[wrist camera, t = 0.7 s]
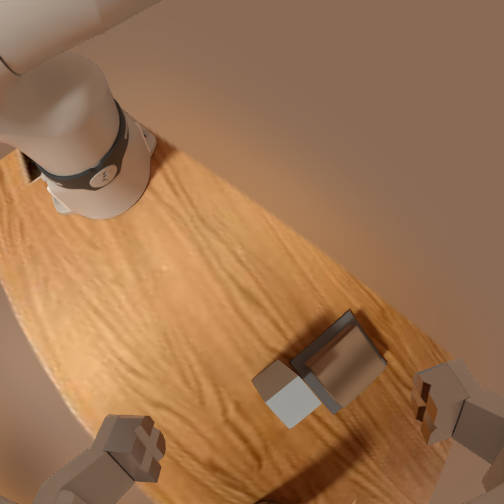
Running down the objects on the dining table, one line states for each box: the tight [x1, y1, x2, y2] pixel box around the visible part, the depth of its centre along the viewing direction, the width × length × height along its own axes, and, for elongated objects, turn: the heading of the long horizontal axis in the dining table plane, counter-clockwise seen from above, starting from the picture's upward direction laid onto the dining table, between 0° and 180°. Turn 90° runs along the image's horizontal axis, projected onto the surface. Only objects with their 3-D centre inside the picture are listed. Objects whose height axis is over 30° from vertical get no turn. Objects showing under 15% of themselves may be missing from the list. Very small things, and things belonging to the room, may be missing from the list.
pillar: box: [251, 359, 322, 429], centre depth 39 cm, size 5×5×10 cm
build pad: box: [290, 310, 387, 415], centre depth 46 cm, size 12×12×1 cm
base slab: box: [304, 324, 386, 408], centre depth 44 cm, size 9×9×3 cm
